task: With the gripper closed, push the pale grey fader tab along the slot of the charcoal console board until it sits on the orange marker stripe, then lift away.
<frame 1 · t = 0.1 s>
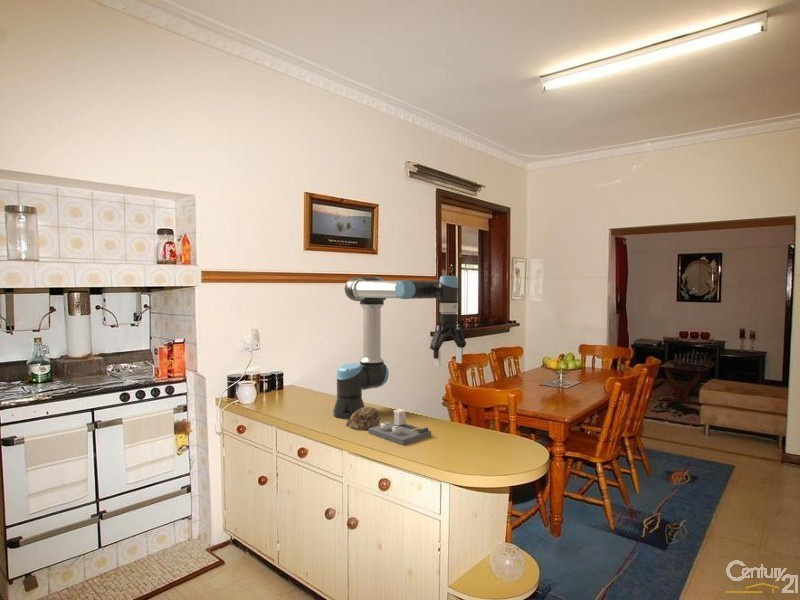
hand: (448, 364, 196), 28 cm above the worktop, fingers open, 13 cm apart
fader tab: (399, 417, 200), point 5 cm above the worktop, slide at 0.0 cm
rock: (361, 427, 204), on the worktop
console: (399, 434, 193), on the worktop
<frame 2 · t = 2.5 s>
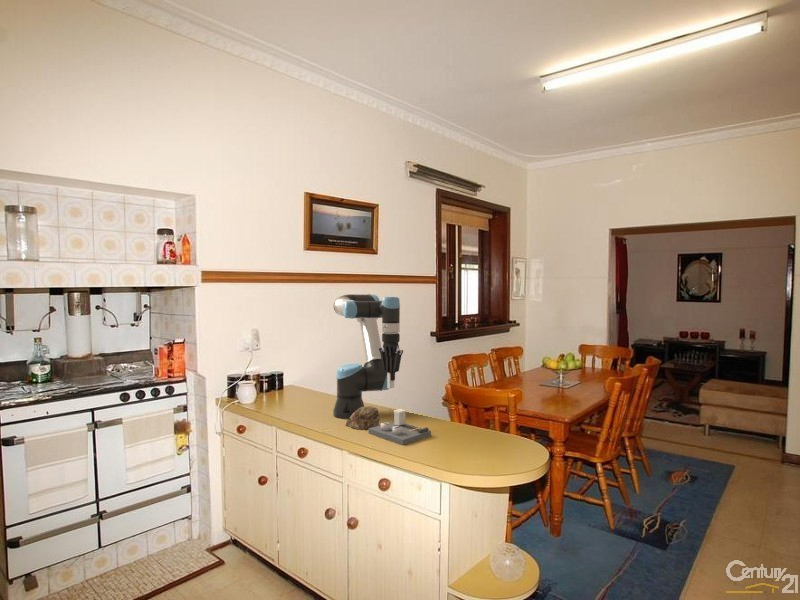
hand: (390, 387, 204), 17 cm above the worktop, fingers closed
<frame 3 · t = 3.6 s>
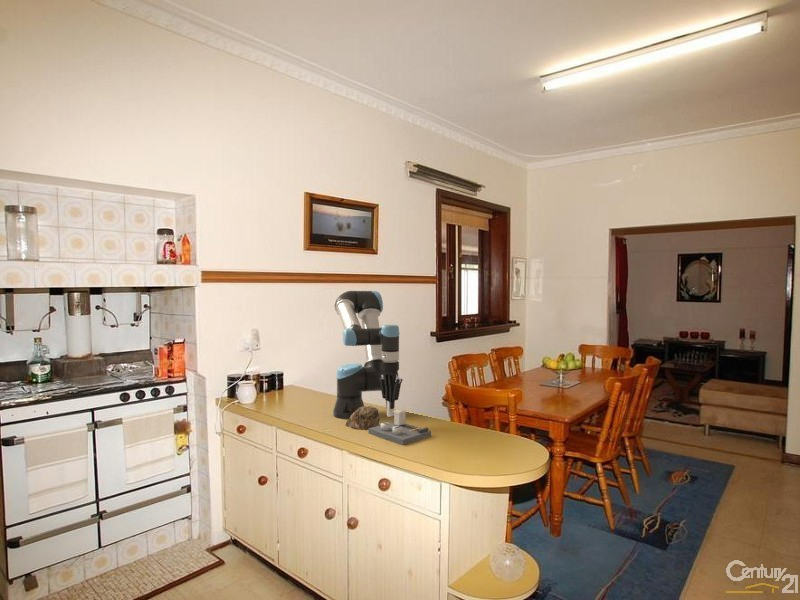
hand: (390, 415, 204), 5 cm above the worktop, fingers closed
nothing on the worktop moved.
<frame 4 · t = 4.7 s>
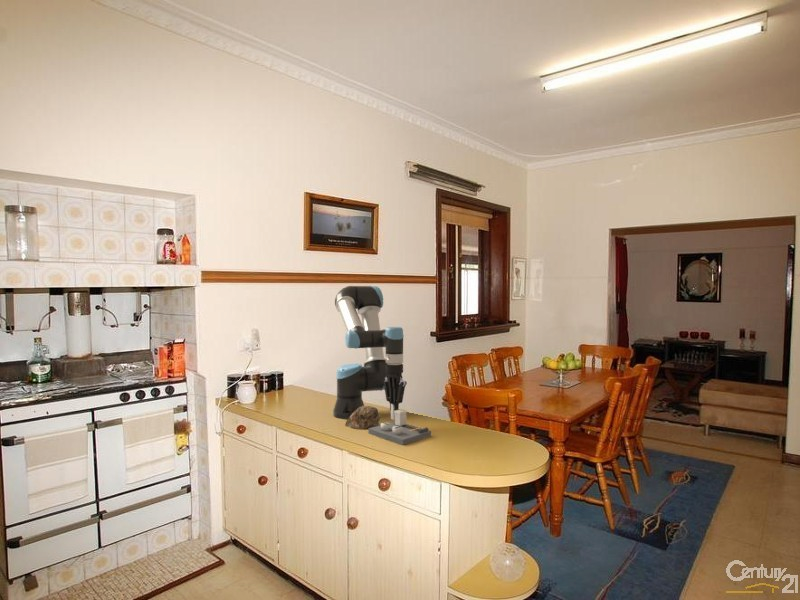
hand: (394, 418, 202), 4 cm above the worktop, fingers closed
fader tab: (400, 417, 200), point 5 cm above the worktop, slide at 0.5 cm, touching gripper
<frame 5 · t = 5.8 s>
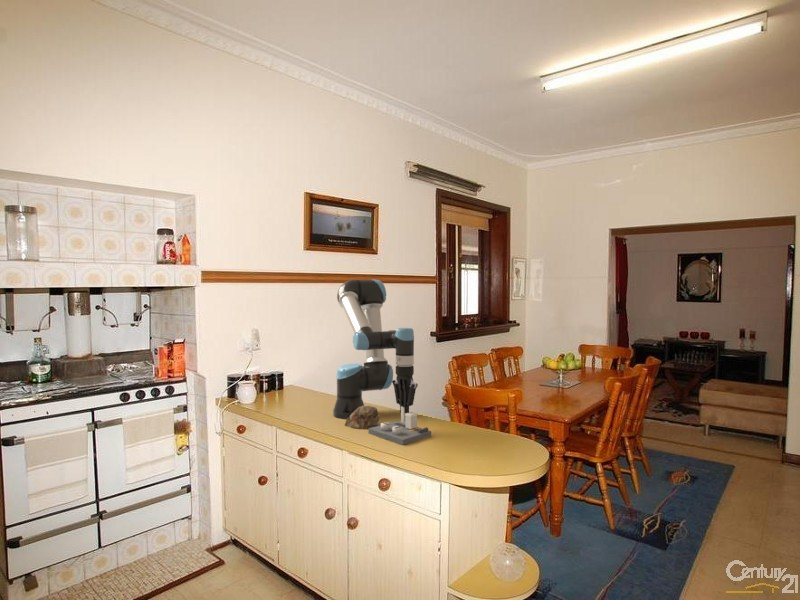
hand: (404, 421, 198), 4 cm above the worktop, fingers closed
fader tab: (411, 420, 195), point 5 cm above the worktop, slide at 6.8 cm, touching gripper
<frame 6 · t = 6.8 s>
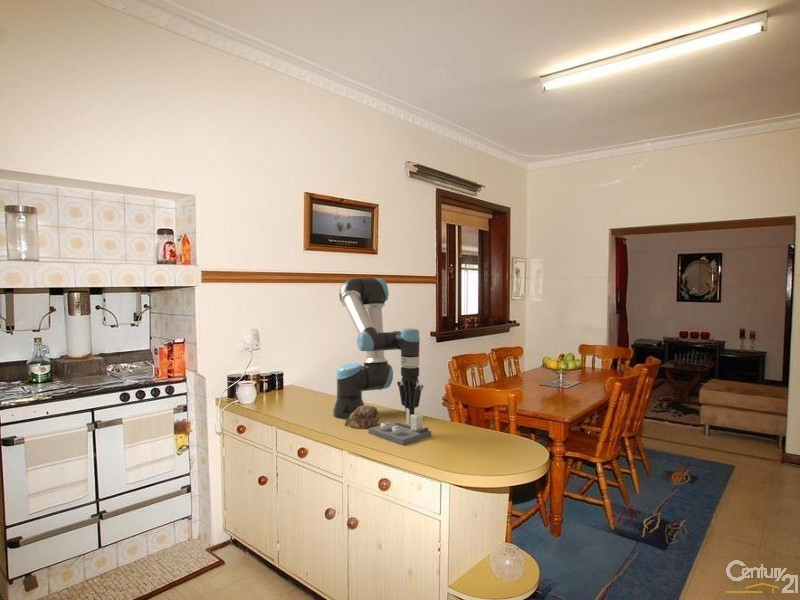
hand: (409, 423, 196), 4 cm above the worktop, fingers closed
fader tab: (416, 422, 193), point 5 cm above the worktop, slide at 9.9 cm, touching gripper
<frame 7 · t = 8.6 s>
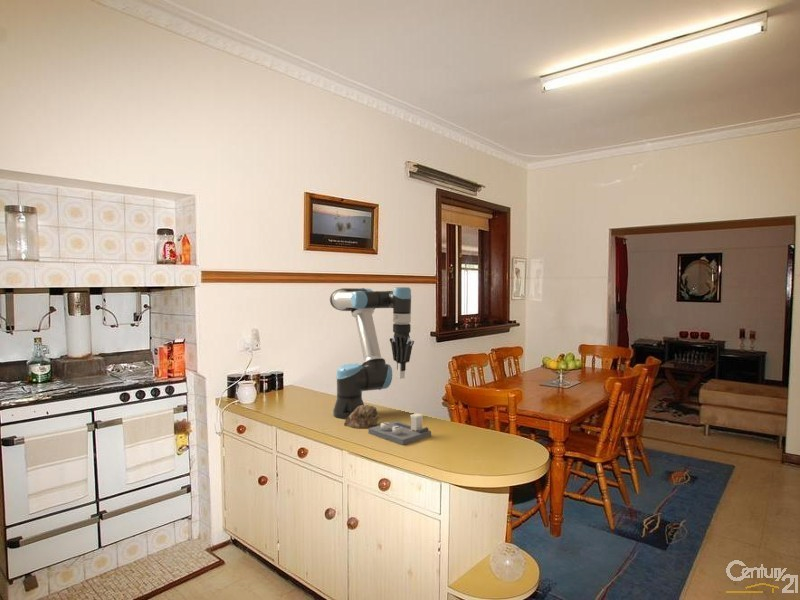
hand: (401, 378, 204), 21 cm above the worktop, fingers closed
fader tab: (416, 422, 193), point 5 cm above the worktop, slide at 9.9 cm
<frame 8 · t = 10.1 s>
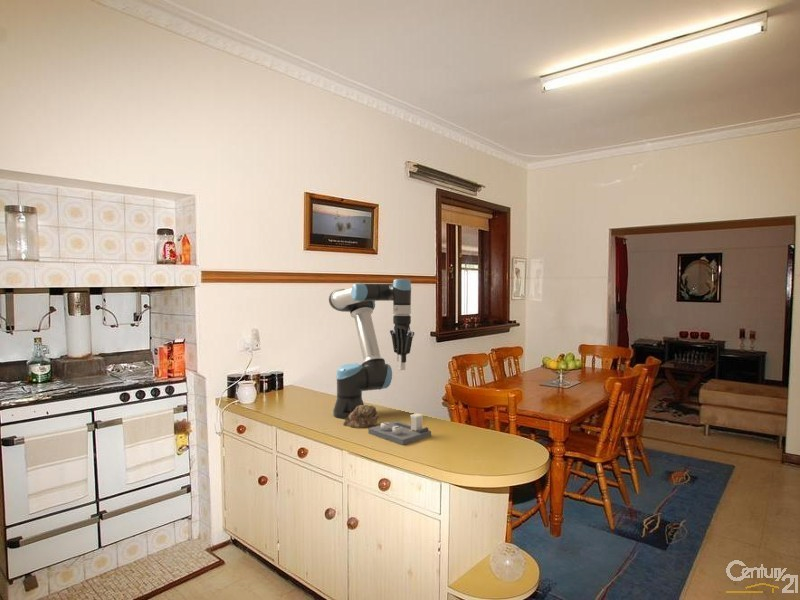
hand: (401, 369, 204), 24 cm above the worktop, fingers closed
at the end: fader tab slide at 9.9 cm; the gripper is holding nothing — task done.
